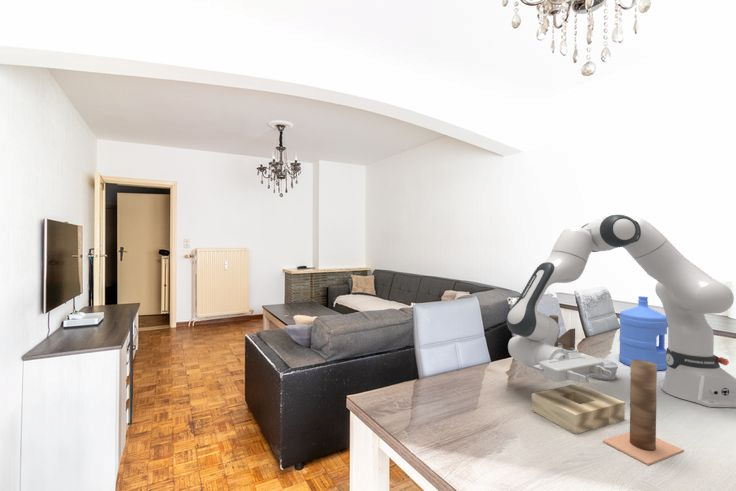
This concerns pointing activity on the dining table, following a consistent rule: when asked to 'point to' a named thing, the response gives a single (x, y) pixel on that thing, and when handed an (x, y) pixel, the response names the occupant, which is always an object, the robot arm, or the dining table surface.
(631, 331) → the water jug
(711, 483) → the dining table surface
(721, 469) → the dining table surface
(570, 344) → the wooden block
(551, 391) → the slotted wood base
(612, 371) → the ramekin
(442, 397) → the dining table surface
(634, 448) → the terracotta mat
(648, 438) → the walnut key peg
